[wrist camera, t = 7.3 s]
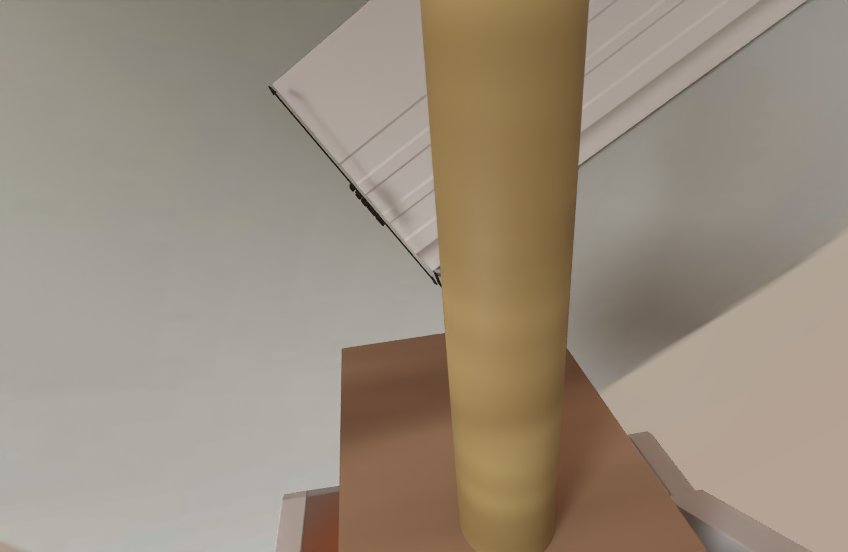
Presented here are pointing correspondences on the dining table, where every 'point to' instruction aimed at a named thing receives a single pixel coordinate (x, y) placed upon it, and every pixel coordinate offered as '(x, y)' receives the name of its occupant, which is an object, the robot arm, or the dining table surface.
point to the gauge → (497, 324)
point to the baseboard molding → (408, 106)
